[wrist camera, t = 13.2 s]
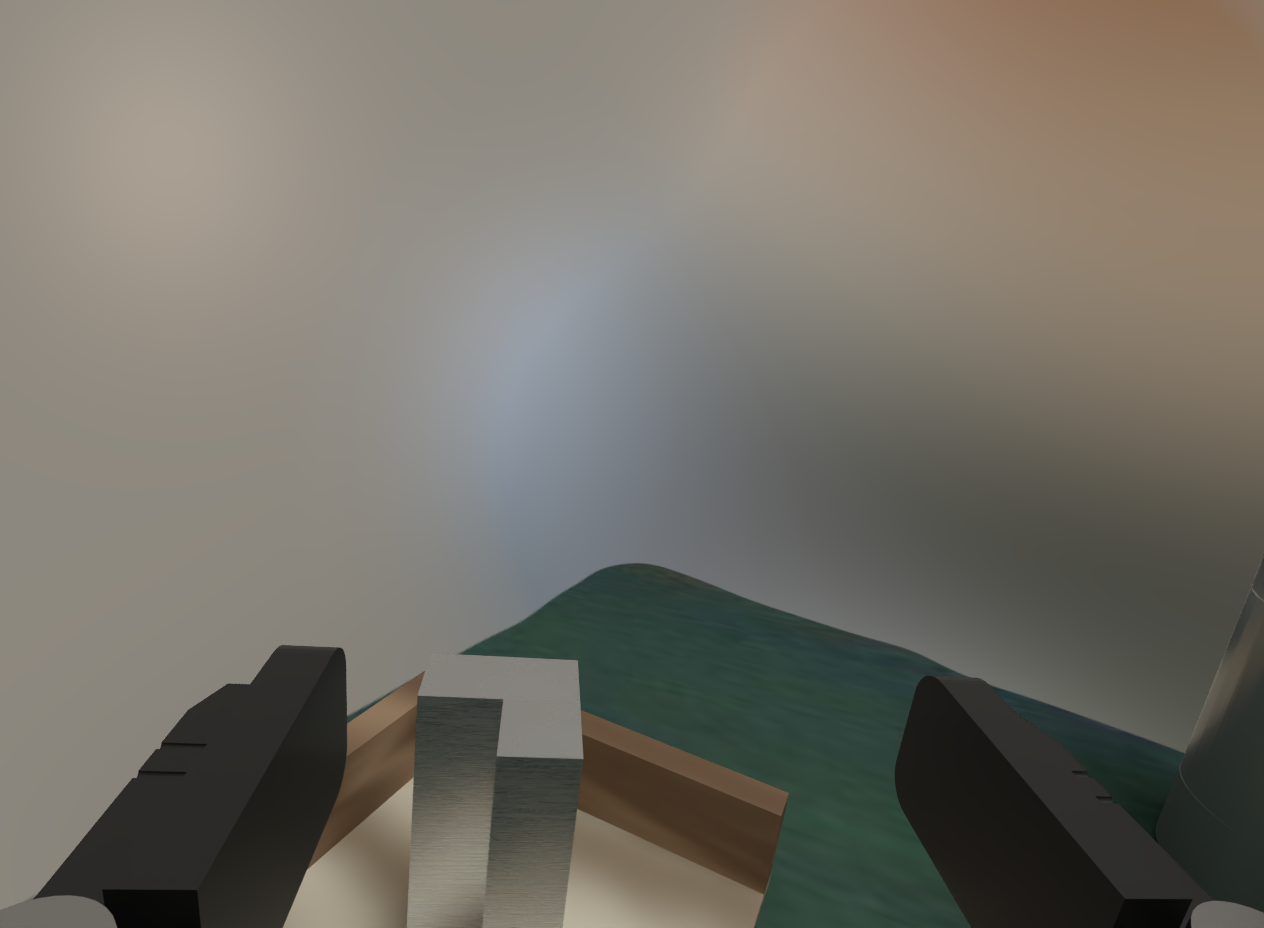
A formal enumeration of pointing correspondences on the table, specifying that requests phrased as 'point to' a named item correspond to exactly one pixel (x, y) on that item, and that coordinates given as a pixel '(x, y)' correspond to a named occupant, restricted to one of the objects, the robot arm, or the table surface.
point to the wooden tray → (603, 838)
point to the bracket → (494, 792)
